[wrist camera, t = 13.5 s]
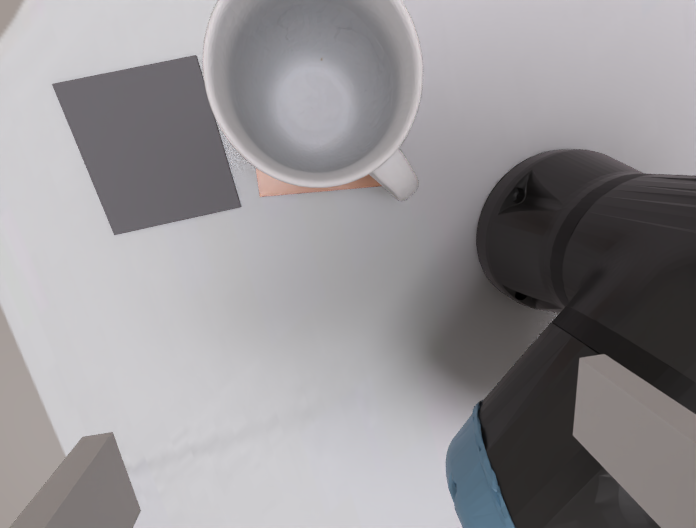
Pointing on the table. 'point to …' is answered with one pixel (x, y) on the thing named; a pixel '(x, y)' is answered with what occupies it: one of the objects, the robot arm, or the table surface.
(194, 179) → the charcoal mat
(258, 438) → the table surface
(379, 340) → the table surface
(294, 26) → the mug
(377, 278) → the table surface
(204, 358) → the table surface
